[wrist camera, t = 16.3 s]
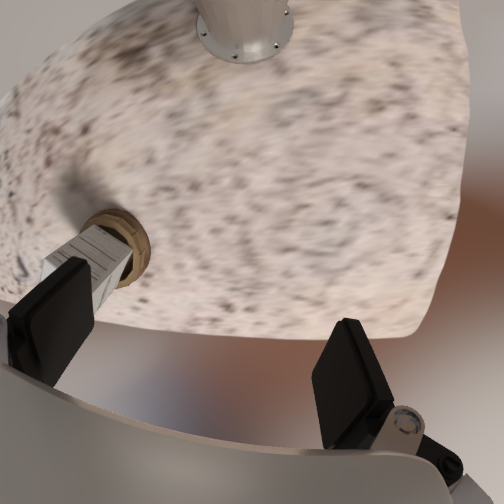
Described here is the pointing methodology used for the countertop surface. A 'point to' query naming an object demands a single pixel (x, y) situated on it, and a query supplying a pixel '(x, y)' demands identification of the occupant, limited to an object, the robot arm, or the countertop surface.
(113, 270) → the supplement box
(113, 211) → the coaster tray
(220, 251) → the countertop surface
